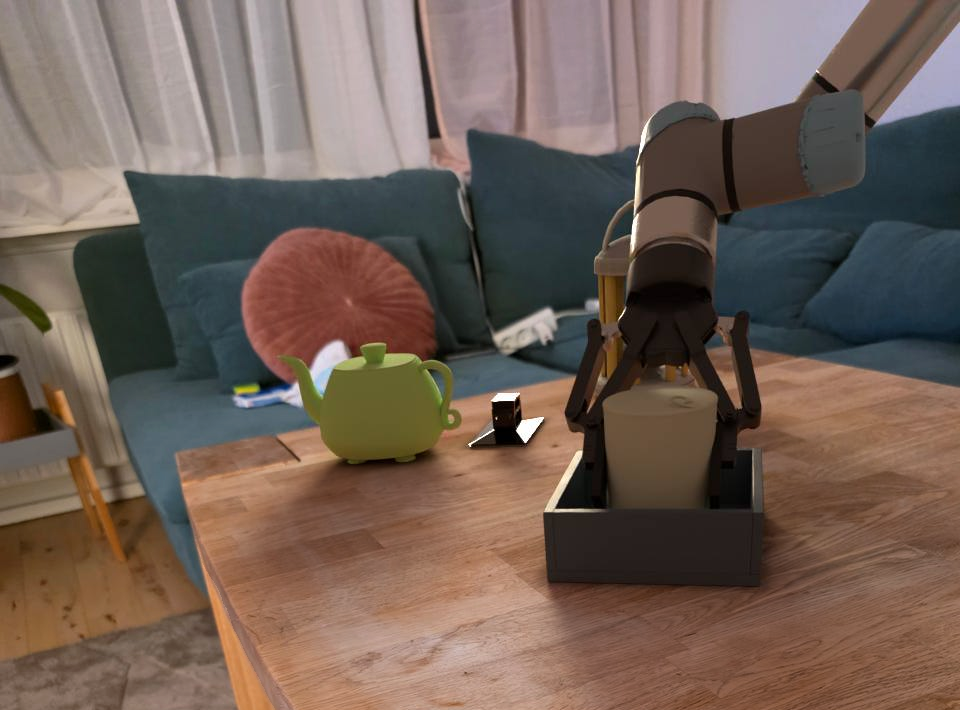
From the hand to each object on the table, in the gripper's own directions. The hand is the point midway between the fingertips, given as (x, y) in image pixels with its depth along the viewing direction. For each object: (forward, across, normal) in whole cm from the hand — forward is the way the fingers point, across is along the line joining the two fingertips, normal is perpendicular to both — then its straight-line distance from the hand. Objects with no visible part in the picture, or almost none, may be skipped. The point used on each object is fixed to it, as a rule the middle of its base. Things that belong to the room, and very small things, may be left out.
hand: (655, 502), depth 72 cm
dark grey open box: (+1, 0, -6) cm, 6 cm away
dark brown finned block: (-25, +22, -32) cm, 46 cm away
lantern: (-40, +7, -47) cm, 62 cm away
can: (+1, 0, -5) cm, 5 cm away
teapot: (-19, +37, -26) cm, 49 cm away
